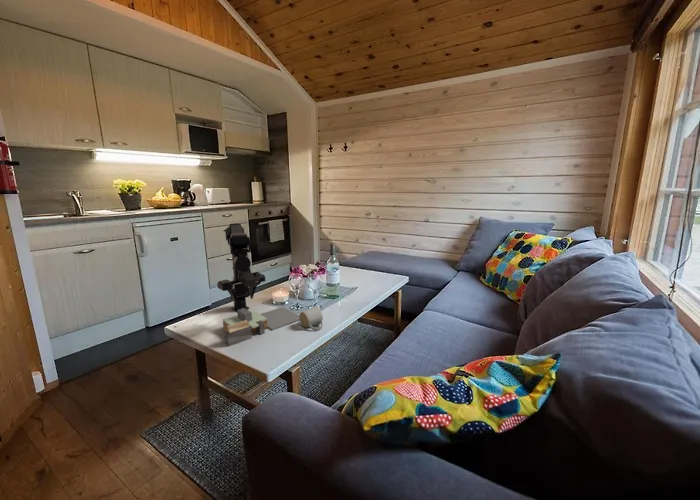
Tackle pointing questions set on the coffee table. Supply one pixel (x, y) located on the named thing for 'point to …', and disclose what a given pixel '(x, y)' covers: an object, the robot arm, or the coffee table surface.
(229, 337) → the toolbox
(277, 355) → the coffee table surface
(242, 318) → the toolbox lid
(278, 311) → the rubber mat
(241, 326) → the wooden block
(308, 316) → the ceramic mug
